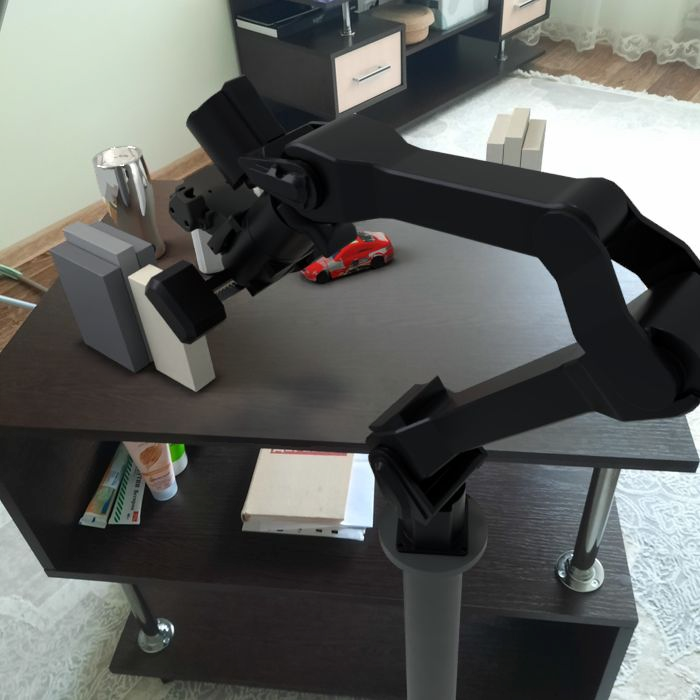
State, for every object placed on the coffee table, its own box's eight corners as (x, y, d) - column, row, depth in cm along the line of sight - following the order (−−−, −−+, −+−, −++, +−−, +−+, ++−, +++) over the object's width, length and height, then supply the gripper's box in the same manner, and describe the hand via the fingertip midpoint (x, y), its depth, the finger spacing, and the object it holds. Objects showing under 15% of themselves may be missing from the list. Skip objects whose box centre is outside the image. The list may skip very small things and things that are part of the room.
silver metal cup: (178, 245, 107) (154, 149, 97) (147, 270, 102) (119, 171, 93) (142, 236, 110) (115, 141, 100) (110, 259, 105) (79, 162, 96)
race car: (307, 289, 96) (303, 263, 94) (294, 268, 100) (291, 243, 98) (399, 264, 99) (398, 238, 97) (383, 245, 103) (382, 220, 101)
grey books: (179, 343, 89) (150, 236, 79) (135, 373, 85) (98, 264, 75) (128, 315, 94) (94, 212, 85) (84, 343, 90) (44, 238, 81)
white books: (530, 237, 102) (540, 138, 93) (481, 233, 104) (487, 135, 95) (537, 203, 110) (547, 108, 100) (492, 199, 111) (497, 106, 102)
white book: (215, 377, 83) (192, 283, 75) (196, 392, 82) (170, 297, 73) (175, 355, 87) (149, 263, 79) (156, 369, 85) (127, 276, 77)
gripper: (299, 108, 64) (238, 194, 77) (125, 192, 54) (88, 275, 67) (374, 211, 65) (301, 279, 78) (217, 314, 54) (162, 372, 67)
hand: (218, 297), depth 72 cm, fingers open, 9 cm apart
